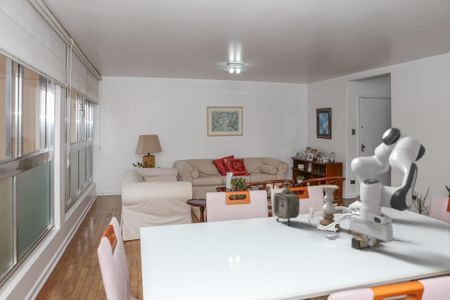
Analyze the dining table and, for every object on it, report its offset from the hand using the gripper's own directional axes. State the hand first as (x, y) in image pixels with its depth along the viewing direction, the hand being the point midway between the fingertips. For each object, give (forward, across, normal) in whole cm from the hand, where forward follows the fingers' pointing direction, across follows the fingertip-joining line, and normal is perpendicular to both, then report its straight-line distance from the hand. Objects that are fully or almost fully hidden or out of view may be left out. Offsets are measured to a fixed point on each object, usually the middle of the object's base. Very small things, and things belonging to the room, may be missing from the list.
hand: (369, 245), depth 149 cm
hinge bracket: (+2, -6, +11) cm, 13 cm away
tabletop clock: (+2, -53, -3) cm, 54 cm away
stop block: (+2, -8, +2) cm, 8 cm away
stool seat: (+2, -14, +18) cm, 23 cm away
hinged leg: (+2, -5, +3) cm, 6 cm away
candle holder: (+2, -34, +10) cm, 35 cm away
